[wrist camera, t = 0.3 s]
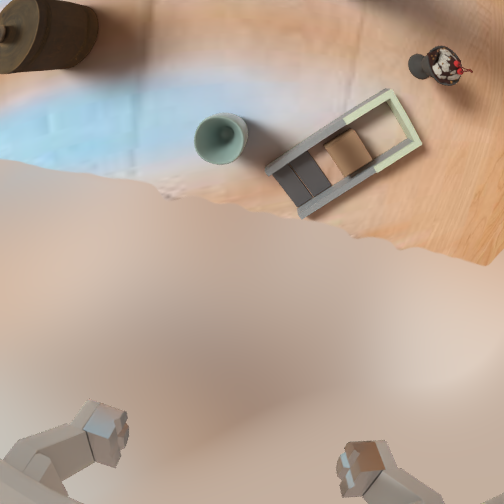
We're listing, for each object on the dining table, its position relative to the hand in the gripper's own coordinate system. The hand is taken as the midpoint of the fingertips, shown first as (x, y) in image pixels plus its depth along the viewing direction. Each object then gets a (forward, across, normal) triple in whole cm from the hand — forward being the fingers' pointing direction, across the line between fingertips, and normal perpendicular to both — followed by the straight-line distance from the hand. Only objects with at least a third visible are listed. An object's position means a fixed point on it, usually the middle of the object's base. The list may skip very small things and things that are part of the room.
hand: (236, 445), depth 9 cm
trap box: (+48, -13, -17) cm, 52 cm away
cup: (+48, +8, -17) cm, 52 cm away
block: (+48, -14, -18) cm, 53 cm away
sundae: (+41, -24, -37) cm, 60 cm away
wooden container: (+43, +44, -36) cm, 71 cm away
